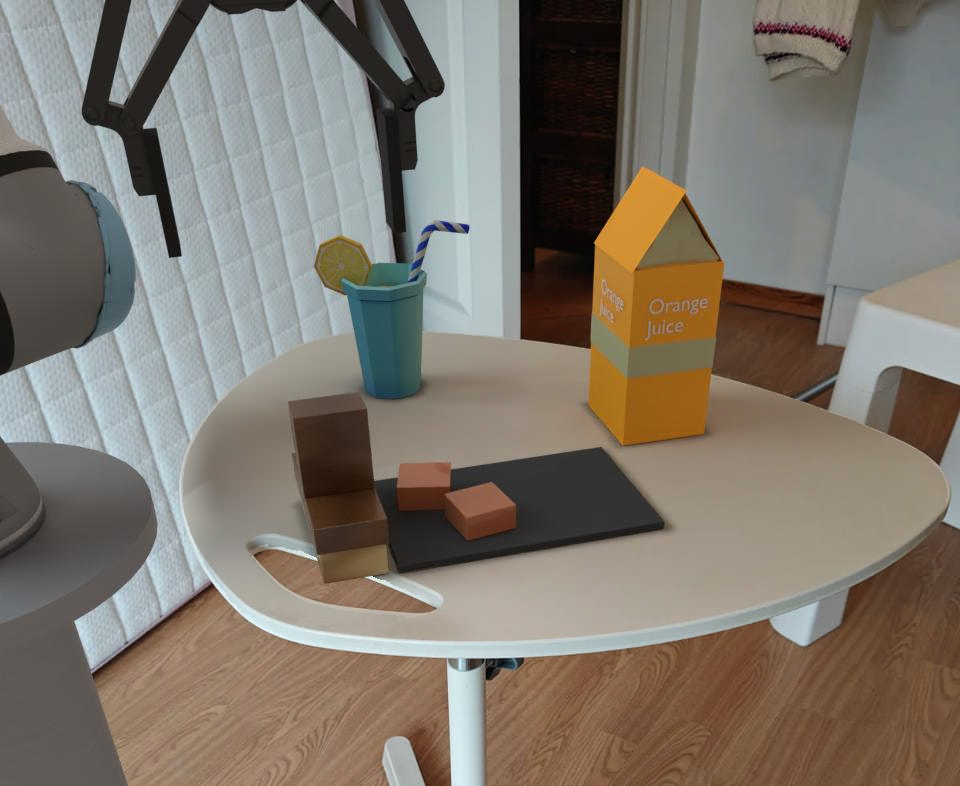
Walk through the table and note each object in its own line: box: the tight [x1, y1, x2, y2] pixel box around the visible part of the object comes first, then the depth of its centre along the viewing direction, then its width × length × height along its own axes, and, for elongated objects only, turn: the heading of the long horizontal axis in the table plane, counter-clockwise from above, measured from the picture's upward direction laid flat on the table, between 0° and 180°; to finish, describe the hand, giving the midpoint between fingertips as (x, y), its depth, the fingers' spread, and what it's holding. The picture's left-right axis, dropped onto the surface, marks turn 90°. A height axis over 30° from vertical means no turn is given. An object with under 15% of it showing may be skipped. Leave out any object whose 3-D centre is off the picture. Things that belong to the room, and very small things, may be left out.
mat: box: [374, 446, 666, 574], centre depth 78 cm, size 20×13×1 cm, turn 105°
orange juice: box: [588, 165, 725, 446], centre depth 84 cm, size 8×9×20 cm
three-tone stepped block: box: [287, 391, 390, 585], centre depth 72 cm, size 5×12×10 cm, turn 15°
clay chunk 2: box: [444, 482, 516, 541], centre depth 74 cm, size 4×4×2 cm
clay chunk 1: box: [397, 461, 452, 511], centre depth 78 cm, size 4×4×2 cm
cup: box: [313, 219, 471, 400], centre depth 93 cm, size 14×8×15 cm, turn 101°
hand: (287, 239), depth 62 cm, fingers open, 13 cm apart
